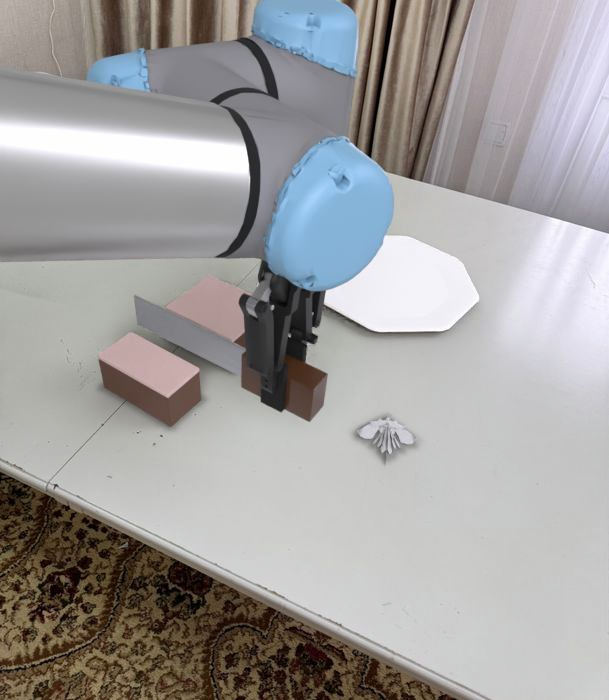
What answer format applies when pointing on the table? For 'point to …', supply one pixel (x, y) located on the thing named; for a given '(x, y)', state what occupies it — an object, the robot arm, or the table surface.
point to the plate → (406, 290)
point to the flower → (387, 424)
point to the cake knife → (236, 358)
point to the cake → (213, 308)
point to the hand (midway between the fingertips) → (282, 394)
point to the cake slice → (150, 378)
